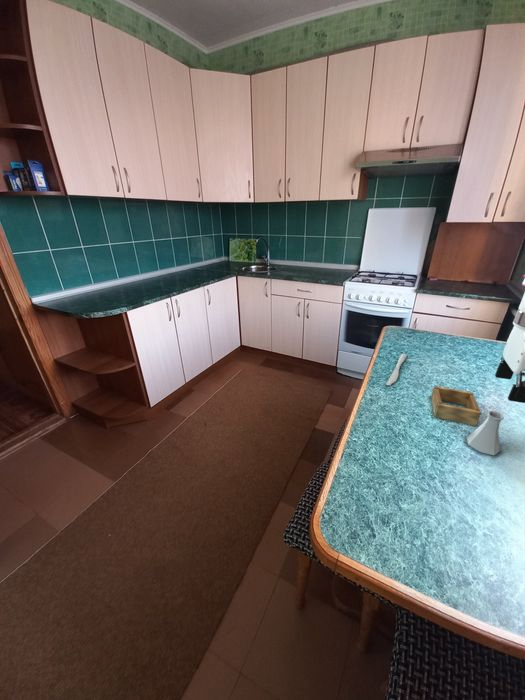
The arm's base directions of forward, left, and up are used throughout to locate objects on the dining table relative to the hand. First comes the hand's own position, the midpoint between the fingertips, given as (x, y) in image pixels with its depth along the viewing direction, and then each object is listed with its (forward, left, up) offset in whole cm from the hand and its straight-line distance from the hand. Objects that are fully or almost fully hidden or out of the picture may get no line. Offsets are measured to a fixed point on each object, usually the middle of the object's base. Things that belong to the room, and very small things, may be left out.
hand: (509, 388), depth 67 cm
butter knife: (+20, -33, -18) cm, 43 cm away
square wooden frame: (+5, -13, -18) cm, 22 cm away
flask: (0, 0, -18) cm, 18 cm away
